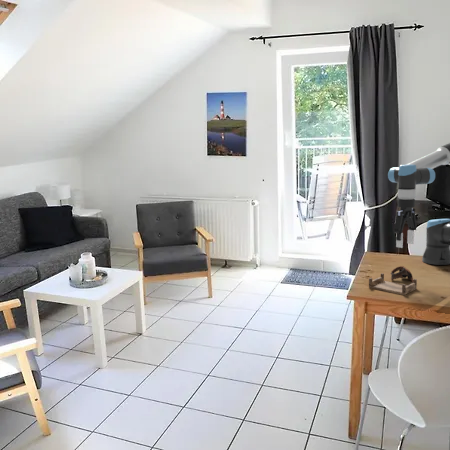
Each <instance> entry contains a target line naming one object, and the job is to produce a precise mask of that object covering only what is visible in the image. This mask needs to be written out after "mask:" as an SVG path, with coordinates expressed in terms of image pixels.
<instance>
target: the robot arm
mask: <svg viewBox="0 0 450 450" xmlns="http://www.w3.org/2000/svg"><path fill="white" fill-rule="evenodd" d="M448 164H449V165H450V142H448V143H446V144H444V145H441V146H439V147H437V148H436V150H435V151H433V152H430V153H429V154H426V155H425V156H422V157H420V158H417V159H415V160H413V161H410V162H409V163H406V164H400V165H399V166H395V167H391V168H389V171H388V173H387V179H388V180H389V181H390V182H391V183H396V184H397V185H398V190H397V198H398V199H397V207H399V208H400V209H399V210H396V216H395V217H396V218H395V221H394V222H395V224H394V228H393V233H394V234H396V235H395V236H396V241H395V244H396V245H395V247H396V248H401V249H403V247H404V246H403V243H404V238H403V237H404V233H403V231H404V228H405V223H406V224H407V227H408V229H407V238H406V239H407V242H406V243H407V244H409V245H414V242H415V241H414V240H415V239H414V237H415V231H417V220H416V219H417V217H416V208H414V207H416V199H415V198H416V187H417V186H416V185H428V184H431V183H433V182H434V181H435V179H436V172H435V170H434V169H435V168H438V167H440V166H446V165H448ZM425 239H426V240H425V241H426V244H425V245H426V246H425V249H424V252H423V254H422V262H423V263H425V264H429V265H433V266H434V265H435V266H437V265H438V266H439V265H440V266H446V265H450V218H436V219H435V218H434V219H430V220H428V221H427V222H426V238H425Z"/></svg>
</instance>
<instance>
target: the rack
mask: <svg viewBox="0 0 450 450" xmlns="http://www.w3.org/2000/svg"><path fill="white" fill-rule="evenodd" d="M417 282H418V280H417V278H413V283H412V282H411V283H410V284H408V285H407V284H404V283H399V282H398V283H397V282H391V281H386V280H385V274H384V273H380V277H376V278H374V279H373V278H372V277H369V278H368V288H369V289H374V290H377V291H382V292H387V293H392V294H397V295H402V296H405V295H407V294H409V293H411V292H414V291H415V290H417V287H418V285H417V284H418V283H417Z"/></svg>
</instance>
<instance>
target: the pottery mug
mask: <svg viewBox="0 0 450 450" xmlns="http://www.w3.org/2000/svg"><path fill="white" fill-rule="evenodd" d="M390 276H391V277H390V278H391V281H394V280H397V279H407V280H409V281H411V284H412V283H413V279H414V277H413V274H412V272H411V271H410V269H409V268H406V267H405V266H403V265H400V266H397V267H395V268H393V269H392V270H391V272H390Z"/></svg>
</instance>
